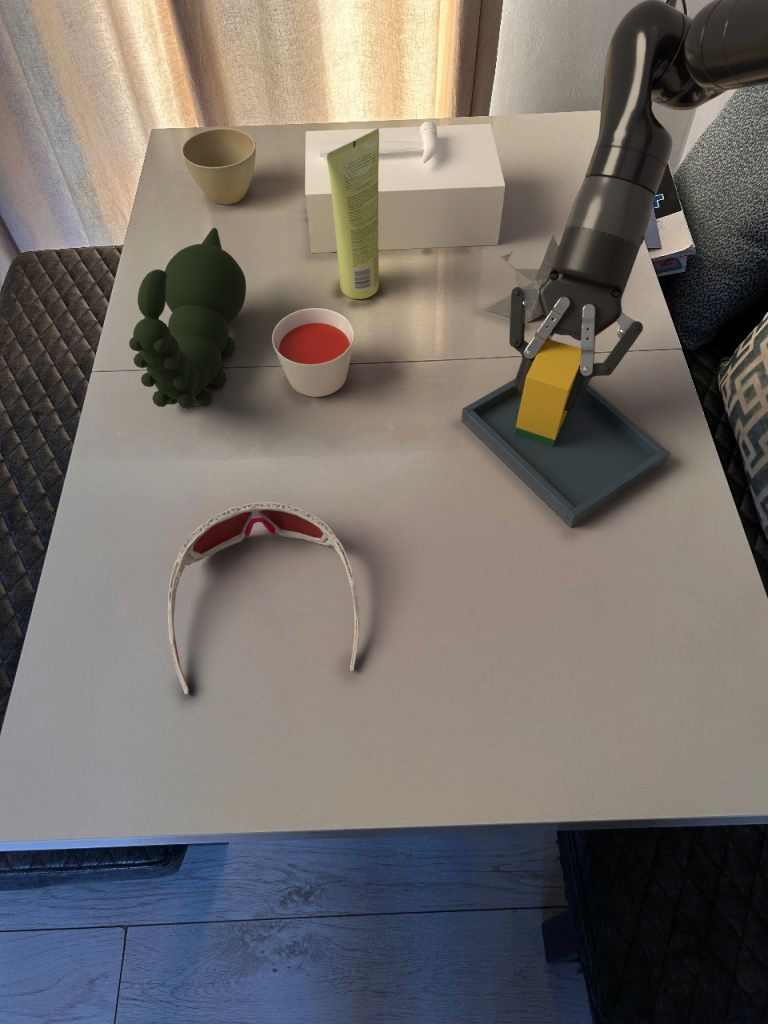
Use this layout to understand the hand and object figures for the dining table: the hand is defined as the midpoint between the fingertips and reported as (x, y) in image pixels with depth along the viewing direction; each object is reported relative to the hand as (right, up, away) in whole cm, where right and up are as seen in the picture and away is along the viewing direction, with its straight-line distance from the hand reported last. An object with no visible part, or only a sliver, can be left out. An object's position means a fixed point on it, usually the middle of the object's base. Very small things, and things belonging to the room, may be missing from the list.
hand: (544, 402), depth 79 cm
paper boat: (+2, +16, +18) cm, 24 cm away
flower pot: (-39, +34, +31) cm, 60 cm away
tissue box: (-14, +30, +28) cm, 43 cm away
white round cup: (-24, +4, +10) cm, 27 cm away
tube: (-20, +17, +19) cm, 32 cm away
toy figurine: (-38, +7, +12) cm, 40 cm away
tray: (+3, -4, +4) cm, 6 cm away
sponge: (+1, -1, +5) cm, 6 cm away
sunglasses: (-28, -20, -6) cm, 35 cm away
